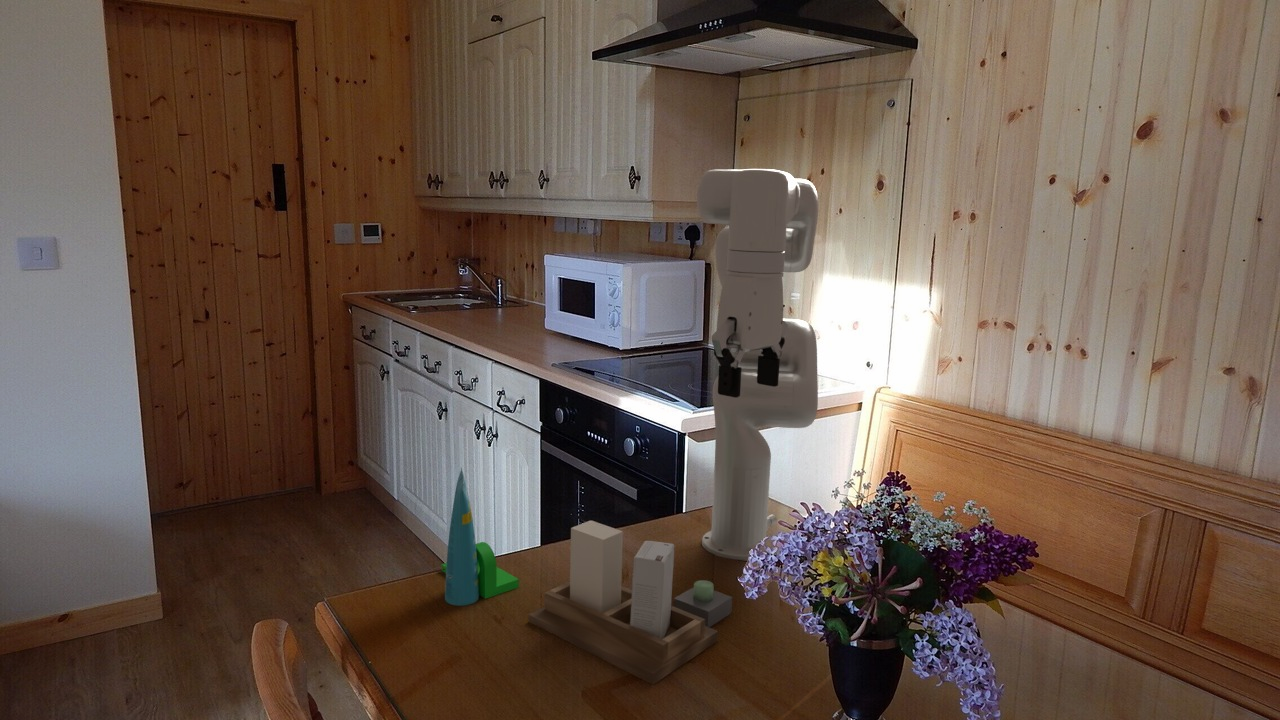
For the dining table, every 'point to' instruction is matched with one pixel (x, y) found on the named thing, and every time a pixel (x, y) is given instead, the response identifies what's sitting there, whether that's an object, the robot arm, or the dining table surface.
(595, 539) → the billet
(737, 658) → the dining table surface
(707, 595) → the button
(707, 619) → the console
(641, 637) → the wooden compartment tray
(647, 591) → the skincare box
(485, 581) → the mechanical part
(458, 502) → the tube
